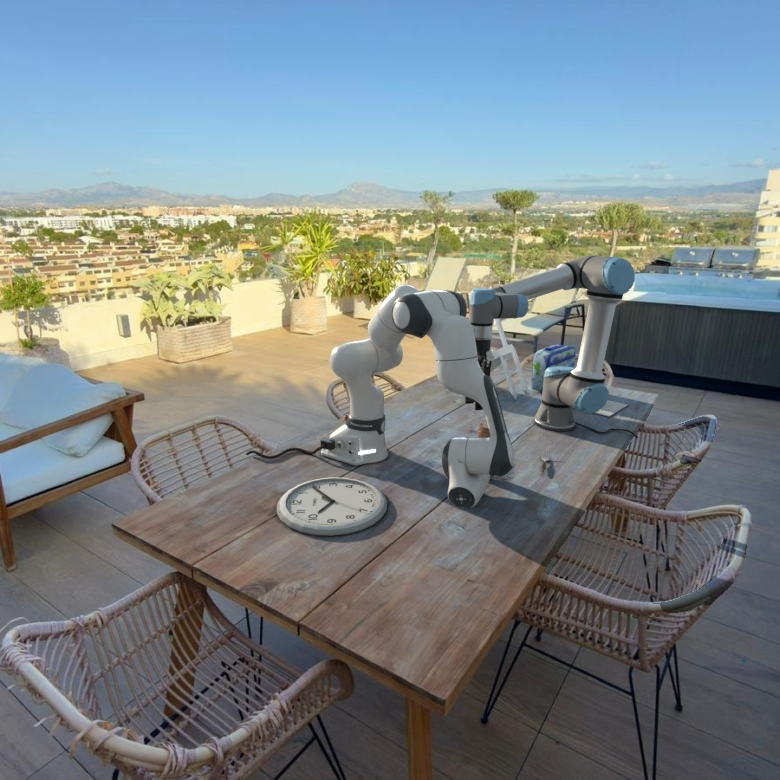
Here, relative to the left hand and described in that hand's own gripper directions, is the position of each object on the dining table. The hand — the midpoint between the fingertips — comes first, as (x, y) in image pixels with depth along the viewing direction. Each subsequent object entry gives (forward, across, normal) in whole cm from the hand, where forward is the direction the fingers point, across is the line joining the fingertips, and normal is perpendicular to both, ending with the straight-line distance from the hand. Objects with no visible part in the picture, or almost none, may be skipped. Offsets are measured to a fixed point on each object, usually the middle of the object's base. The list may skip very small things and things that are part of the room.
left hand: (485, 454), depth 160 cm
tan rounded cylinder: (-1, 0, +7) cm, 7 cm away
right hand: (+15, +8, -10) cm, 20 cm away
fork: (+15, -17, +7) cm, 23 cm away
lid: (+15, +8, -14) cm, 22 cm away
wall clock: (-35, +34, +7) cm, 49 cm away
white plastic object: (+84, +20, +7) cm, 86 cm away
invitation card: (+85, -33, +7) cm, 92 cm away
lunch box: (+103, -11, +7) cm, 104 cm away
